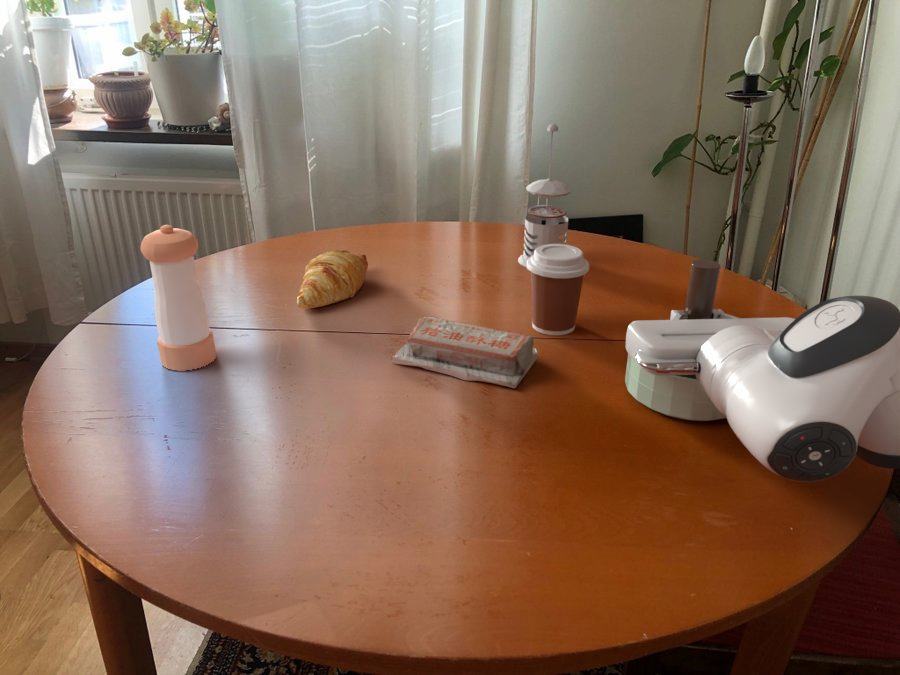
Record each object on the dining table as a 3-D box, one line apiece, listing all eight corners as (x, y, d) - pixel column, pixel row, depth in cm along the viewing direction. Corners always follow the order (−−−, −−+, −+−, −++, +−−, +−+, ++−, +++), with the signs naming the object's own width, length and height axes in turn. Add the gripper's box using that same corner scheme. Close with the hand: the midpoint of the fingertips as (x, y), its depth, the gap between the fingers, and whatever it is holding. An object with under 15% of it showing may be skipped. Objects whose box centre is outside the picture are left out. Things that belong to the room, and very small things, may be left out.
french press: (520, 270, 134) (527, 129, 123) (514, 249, 144) (520, 117, 133) (574, 270, 134) (586, 129, 123) (565, 249, 144) (575, 117, 133)
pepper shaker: (219, 365, 101) (199, 230, 92) (163, 375, 98) (136, 237, 90) (213, 343, 107) (193, 214, 98) (159, 352, 104) (134, 220, 96)
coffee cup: (549, 344, 107) (554, 266, 102) (511, 322, 114) (514, 247, 109) (596, 330, 111) (604, 254, 106) (557, 309, 118) (562, 237, 113)
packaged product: (541, 327, 101) (517, 358, 93) (539, 358, 103) (515, 392, 95) (421, 305, 107) (389, 333, 99) (422, 335, 109) (391, 364, 101)
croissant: (319, 336, 117) (336, 299, 112) (266, 301, 117) (282, 263, 113) (376, 286, 134) (394, 252, 130) (331, 256, 135) (347, 221, 130)
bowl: (706, 359, 103) (712, 320, 100) (774, 416, 90) (784, 373, 87) (605, 372, 100) (609, 332, 97) (661, 433, 86) (667, 388, 84)
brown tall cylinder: (692, 372, 96) (712, 256, 89) (711, 388, 93) (733, 268, 86) (662, 376, 95) (679, 259, 88) (680, 393, 92) (699, 272, 85)
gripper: (640, 397, 79) (608, 340, 92) (826, 392, 80) (770, 336, 93) (647, 344, 76) (613, 292, 89) (840, 339, 78) (780, 289, 90)
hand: (694, 314), depth 91 cm, fingers closed on brown tall cylinder, 3 cm apart
